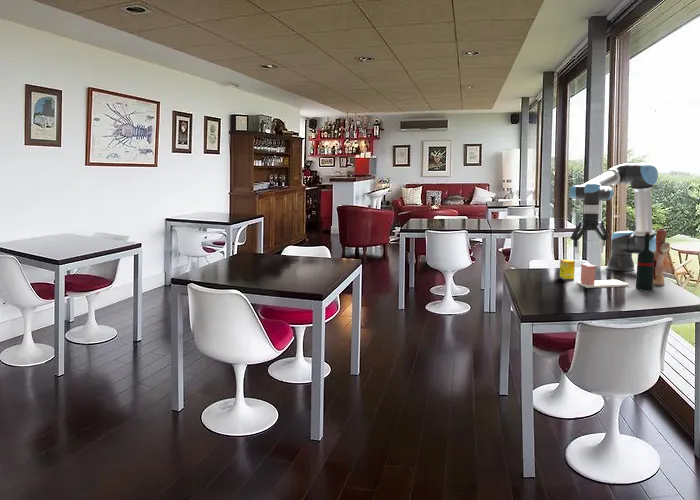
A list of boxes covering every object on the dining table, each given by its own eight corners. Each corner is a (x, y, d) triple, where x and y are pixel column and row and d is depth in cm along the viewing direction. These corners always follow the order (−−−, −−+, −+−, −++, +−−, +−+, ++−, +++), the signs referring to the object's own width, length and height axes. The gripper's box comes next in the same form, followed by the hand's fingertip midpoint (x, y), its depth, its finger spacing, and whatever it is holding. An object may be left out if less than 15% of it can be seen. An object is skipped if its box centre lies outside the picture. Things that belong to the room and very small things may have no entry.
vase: (646, 282, 314) (649, 227, 309) (659, 282, 313) (663, 227, 309) (655, 286, 303) (659, 230, 299) (669, 286, 303) (673, 230, 298)
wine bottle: (660, 290, 296) (664, 232, 291) (641, 290, 295) (644, 232, 290) (650, 286, 303) (654, 230, 299) (632, 287, 303) (635, 230, 298)
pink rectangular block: (588, 282, 315) (589, 262, 313) (599, 287, 304) (600, 266, 302) (576, 283, 314) (576, 263, 312) (586, 287, 303) (587, 267, 301)
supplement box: (559, 278, 328) (559, 259, 326) (569, 278, 328) (570, 259, 327) (563, 280, 322) (564, 261, 320) (574, 280, 323) (575, 261, 321)
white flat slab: (616, 281, 317) (616, 279, 316) (628, 286, 306) (628, 283, 306) (589, 283, 315) (589, 280, 315) (600, 287, 304) (600, 284, 304)
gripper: (609, 211, 308) (607, 250, 311) (564, 212, 305) (563, 252, 308) (617, 212, 301) (614, 253, 304) (571, 213, 298) (570, 254, 301)
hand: (588, 252), depth 306 cm, fingers open, 13 cm apart
